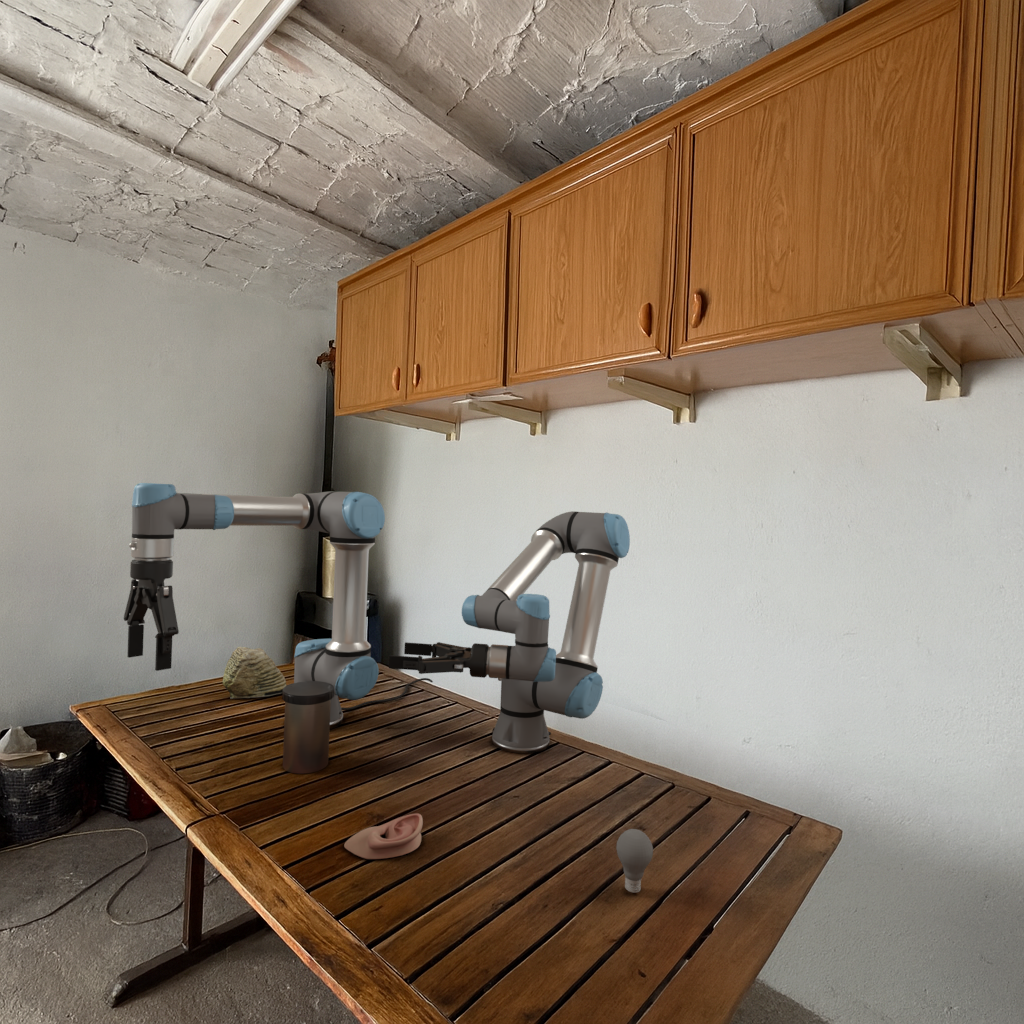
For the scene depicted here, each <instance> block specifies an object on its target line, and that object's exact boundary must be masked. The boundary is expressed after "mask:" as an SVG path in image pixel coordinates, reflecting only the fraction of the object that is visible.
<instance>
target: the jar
mask: <svg viewBox="0 0 1024 1024" xmlns="http://www.w3.org/2000/svg"><path fill="white" fill-rule="evenodd" d="M330 705H331V700H329V701H326V702H323V703H319V704H312V705H296V704H290V703H287V702H285V701H284V719H283V720H284V722H283V724H284V725H283V746H282V747H283V748H282V750H283V751H282V752H283V753H282V769H283V770H284V771H286V772H287V773H291V774H297V775H298V774H301V775H302V774H311V773H316V772H319V771H321V770H323V769H325V768H326V767H327V766H328V765H329V757H330V756H329V753H330V730H331V729H330Z"/></svg>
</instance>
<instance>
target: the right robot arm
mask: <svg viewBox="0 0 1024 1024" xmlns="http://www.w3.org/2000/svg"><path fill="white" fill-rule="evenodd" d="M630 536H631V535H630V529H629V525H628V522H627V521H626V519H625V518H624V517H623V516H622V515H621V514H618V513H617V514H616V513H609V512H589V511H575V510H574V511H567V512H563V513H560V514H558V515H555V516H554V517H552V518H551V519H549V520H547V521H546V522H544V523H543V524H542V525H541V526H540V527H539V528H537V529H536V530H535V531H534V532H533V534H532V536H531V538H530V542H529V544H527V546H526V547H525V548H524V549H523V550H522V551H521V553H519V554H518V556H516V557H515V559H514V560H513V561H512V562H511V563H510V564H509V565H508V567H507V568H506V569H504V571H503V572H502V573H501V574H500V575H499V576H498V577H497V578H496V579H495V580H494V582H493V583H492V584H491V585H489V587H488V588H487V589H486V590H485V591H484V592H483V594H481V595H480V594H471V595H468V596H466V598H465V599H464V601H463V603H462V605H461V617H462V621H463V622H464V623H465V624H466V625H467V626H470V627H474V628H477V629H482V630H489V631H496V632H500V633H501V632H502V633H507V634H513V635H514V638H515V639H514V644H515V645H507V644H495V643H494V644H493V643H492V644H491V645H490V646H489V644H488V643H472V645H471V647H470V646H468V647H467V646H460V645H456V644H455V645H454V644H450V643H444V642H441V641H437V642H436V643H433V644H432V643H420V642H407V641H405V642H404V648H403V649H404V651H403V654H404V655H394V654H393V655H391V654H390V655H389V656H388V657H389V658H388V661H389V662H388V669H393V670H409V671H417V672H418V674H419V675H423V674H442V673H463V672H464V669H469V675H470V677H472V678H481V679H482V678H483V679H485V678H487V676H488V678H490V679H497V681H499V682H500V707H499V709H500V710H499V715H498V717H497V720H496V723H495V726H494V727H493V728H492V730H491V733H492V736H491V737H492V738H491V743H492V745H493V746H495V747H496V748H497V749H499V750H502V751H504V752H508V753H512V754H536V753H539V752H543V751H544V750H547V749H548V748H549V746H550V738H551V737H550V736H551V734H552V733H551V732H550V731H549V729H548V726H547V722H546V718H545V711H546V712H550V713H554V714H558V715H560V716H561V715H562V716H566V717H568V718H575V719H582V720H583V719H587V718H589V717H590V716H592V714H593V713H594V712H595V711H596V709H597V707H598V705H599V703H600V701H601V698H602V694H603V690H604V685H603V684H604V683H603V682H604V681H603V678H602V676H601V674H599V673H598V668H599V666H598V665H597V663H596V661H595V659H594V658H595V653H596V648H597V643H598V637H599V632H600V628H601V627H600V626H601V622H602V617H603V611H604V607H605V606H604V605H605V601H606V596H607V591H608V586H609V582H610V581H609V580H610V576H611V571H612V570H613V569H615V568H616V567H618V565H619V560H620V559H623V558H626V557H627V556H628V553H629V550H630V545H631V544H630V543H631V538H630ZM571 553H572V554H574V558H575V560H576V561H577V562H578V568H577V573H576V577H575V581H574V587H573V591H572V596H571V600H570V605H569V611H568V614H567V615H568V616H567V619H566V624H565V629H564V634H563V639H562V643H561V647H560V651H559V652H558V653H557V651H556V649H555V648H552V647H549V630H550V629H549V627H550V618H551V613H550V599H549V597H548V596H546V595H544V594H537V593H526V592H527V590H528V589H529V588H530V587H531V586H532V585H533V584H534V582H535V581H536V580H537V579H538V578H539V577H540V576H541V574H542V573H543V572H544V571H545V569H546V568H547V567H548V566H549V565H550V564H551V562H552V561H556V560H558V559H559V558H561V556H562V555H564V554H571ZM406 655H408V656H406ZM410 655H411V656H410ZM423 656H425V658H423Z"/></svg>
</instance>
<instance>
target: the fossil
mask: <svg viewBox="0 0 1024 1024" xmlns="http://www.w3.org/2000/svg"><path fill="white" fill-rule="evenodd" d="M222 676H223V677H222V685H223V687H224V688H225V690H226V691H228V693H229V698H230V699H250V698H264V697H271V696H275V695H281V694H282V691H283V688H284V687H285V686H287V685H288V684H287V680H286V678H285V676H284V674H283V673H282V672H281V669H279V668H278V667H277V665H276V663H275V662H274V660H273V659H272V658H271V657H270V656H269V655H268V654H267V653H266V652H265V650H264V649H263V648H260V647H258V648H251V647H247V646H246V647H245V646H238V647H237V648H236V649H235V650H233V651H232V653H231V656H230V657H229V659H228V660H227V663H226V666H225V668H224V671H223V675H222Z"/></svg>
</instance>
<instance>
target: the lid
mask: <svg viewBox="0 0 1024 1024" xmlns="http://www.w3.org/2000/svg"><path fill="white" fill-rule="evenodd" d="M286 685H287V686H285V687H284V688H283V691H282V693H281V699H282V701H283V702H284V703H285V702H287V703H290V704H296V705H312V704H319V703H323V702H326V701H329V700H331V699H332V698H333V697H334V686H333V685H332V684H330V683H326V682H320V681H305V682H297V683H294V682H293V683H290V684H286Z"/></svg>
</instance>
